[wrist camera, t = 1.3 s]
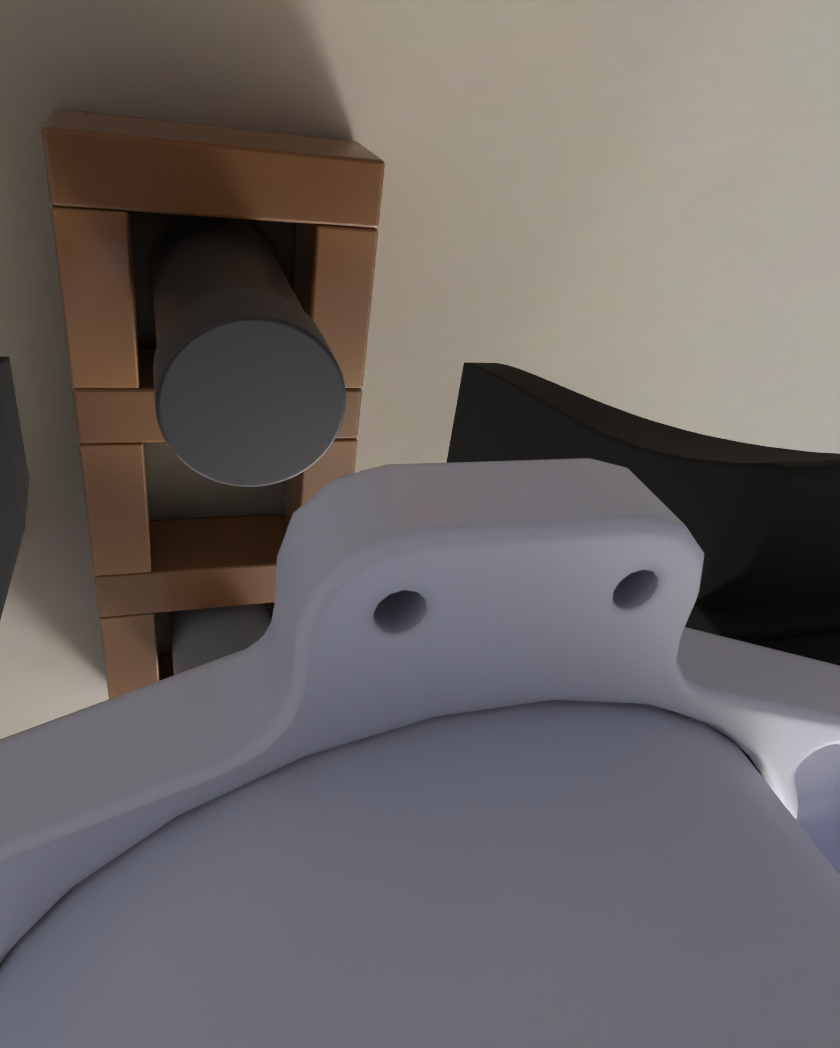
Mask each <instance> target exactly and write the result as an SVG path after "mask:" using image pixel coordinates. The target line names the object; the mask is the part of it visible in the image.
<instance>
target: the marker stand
mask: <svg viewBox="0 0 840 1048" xmlns="http://www.w3.org/2000/svg"><path fill="white" fill-rule="evenodd" d="M42 136H43V144H44V153H45V161H46V170H47V178H48V187H49V195H50V201H51V203H52V204H53V205H52V208H51V213H52V222H53V230H54V239H55V247H56V256H57V264H58V273H59V281H60V289H61V298H62V306H63V315H64V323H65V332H66V340H67V348H68V357H69V365H70V374H71V382H72V386H73V398H74V406H75V415H76V423H77V432H78V440H79V441H80V442H79V450H80V459H81V467H82V475H83V484H84V492H85V501H86V509H87V518H88V526H89V534H90V543H91V551H92V560H93V568H94V574H95V584H96V593H97V601H98V610H99V615H100V627H101V636H102V644H103V653H104V661H105V669H106V678H107V686H108V695H109V699H111V698H114V697H117V696H119V695H122V694H125V693H128V692H130V691H133V690H136V689H138V688H141V687H144V686H147V685H149V684H152V683H155V682H157V681H160V680H163V679H165V678H168V677H171V676H174V671H173V656H172V654H168V655H159V649H158V634H157V619H156V613H157V612H169V611H180V610H192V609H203V608H215V607H226V606H238V605H249V604H261V603H272V602H275V589H276V565H277V555H278V553H279V550H280V547H281V544H282V542H283V539H284V536H285V534H286V531H287V528H288V525H289V523H290V520H291V517H292V514H293V513H294V512H295V511H296V510H298V509H299V508H300V507H301V506H302V505H303V504H305V503H306V502H307V501H308V500H309V499H310V498H312V497H313V496H314V495H315V494H316V493H318V492H319V491H320V490H321V489H322V488H323V487H325V486H326V485H327V484H328V483H329V482H330V481H332V480H333V479H335V478H338V477H342V476H346V475H350V474H353V473H354V467H355V457H356V447H357V439H356V437H357V435H358V425H359V415H360V405H361V395H362V390H361V387H362V385H363V377H364V367H365V357H366V347H367V337H368V327H369V317H370V307H371V297H372V287H373V278H374V268H375V258H376V248H377V238H378V230H377V229H376V227H378V224H379V216H380V206H381V196H382V186H383V176H384V166H385V164H384V161H383V160H381V159H380V158H378V157H377V156H376V155H374V154H373V153H372V152H370V151H369V150H367V149H366V148H365V147H363V146H362V145H360V144H359V143H358V142H356V141H348V140H338V139H329V138H319V137H310V136H301V135H291V134H282V133H272V132H263V131H253V130H244V129H235V128H225V127H216V126H206V125H197V124H188V123H178V122H169V121H159V120H150V119H141V118H131V117H122V116H112V115H103V114H94V113H84V112H75V111H65V110H53V111H52V113H51V115H50V116H49V118H48V120H47V122H46V123H45V125H44V127H43V130H42ZM129 211H134V212H148V213H163V214H177V215H191V216H205V217H220V218H234V219H248V220H263V221H277V222H291V223H296V239H295V261H294V284H293V291H294V293H295V295H296V297H297V299H298V301H299V303H300V305H301V307H302V309H303V310H304V312H305V313H306V314H308V315H309V316H310V318H311V319H312V320H313V321H314V322H315V324H316V325H317V327H318V328H319V330H320V332H321V333H322V335H323V337H324V339H325V340H326V342H327V344H328V346H329V348H330V350H331V351H332V353H333V355H334V357H335V359H336V361H337V363H338V365H339V367H340V370H341V372H342V375H343V379H344V382H345V389H346V408H345V415H344V419H343V422H342V425H341V428H340V430H339V432H338V434H337V437H336V438H335V440H334V442H333V443H332V445H331V447H330V448H329V449H328V450H327V451H326V453H325V454H324V455H323V456H322V457H321V458H320V459H319V460H318V461H317V462H316V463H315V464H313V465H312V466H311V467H310V468H308V469H307V470H305V471H304V472H302V473H300V474H299V475H297V476H295V477H292V478H290V479H288V480H285V482H284V504H283V514H284V515H266V516H246V517H226V518H207V519H187V520H167V521H150V513H149V498H148V483H147V468H146V453H145V442H166V441H165V439H164V437H163V435H162V433H161V430H160V428H159V424H158V421H157V416H156V409H155V395H154V379H153V362H154V356H155V351H156V349H138V333H137V318H136V303H135V288H134V272H133V257H132V242H131V227H130V212H129Z"/></svg>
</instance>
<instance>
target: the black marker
mask: <svg viewBox="0 0 840 1048" xmlns="http://www.w3.org/2000/svg"><path fill="white" fill-rule="evenodd" d="M151 275H152V288H153V301H154V314H155V327H156V340H157V348H156V351H155V356H154V362H153V379H154V395H155V409H156V416H157V421H158V424H159V428H160V430H161V433H162V435H163V437H164V439H165V441H166V442H167V444H168V446H169V447H170V449H171V450H172V451H173V452H174V454H175V455H176V456H177V457H178V458H179V459H180V460H181V461H182V462H183V463H184V464H186V465H187V466H188V467H189V468H191V469H192V470H194V471H195V472H197V473H198V474H200V475H202V476H204V477H206V478H208V479H211V480H214V481H216V482H219V483H223V484H227V485H232V486H240V487H258V486H266V485H271V484H276V483H279V482H282V481H285V480H288V479H290V478H292V477H295V476H297V475H299V474H300V473H302V472H304V471H305V470H307V469H308V468H310V467H311V466H312V465H313V464H315V463H316V462H317V461H318V460H319V459H320V458H321V457H322V456H323V455H324V454H325V453H326V451H327V450H328V449H329V448H330V447H331V445H332V443H333V442H334V440H335V438H336V437H337V434H338V432H339V430H340V428H341V425H342V422H343V419H344V415H345V408H346V389H345V382H344V379H343V375H342V372H341V370H340V367H339V365H338V363H337V361H336V359H335V357H334V355H333V353H332V351H331V350H330V348H329V346H328V344H327V342H326V340H325V339H324V337H323V335H322V333H321V332H320V330H319V328H318V327H317V325H316V324H315V322H314V321H313V320H312V319H311V318H310V316H309V315H308V314H306V313H305V312H304V310H303V309H302V307H301V305H300V303H299V301H298V299H297V297H296V295H295V293H294V291H293V289H292V288H291V286H290V284H289V282H288V280H287V278H286V276H285V274H284V272H283V270H282V269H281V267H280V265H279V263H278V261H277V259H276V257H275V255H274V253H273V251H272V249H271V248H270V246H269V244H268V243H267V241H266V240H265V238H264V237H263V236H262V235H261V234H260V233H259V232H258V231H257V230H256V229H255V228H254V227H253V226H252V225H250V224H249V223H247V222H246V221H244V220H242V219H234V218H220V217H205V216H191V215H189V216H187V217H185V218H182V219H181V220H179V221H177V222H176V223H174V224H173V225H172V226H171V227H170V228H169V229H168V230H167V231H166V232H165V233H164V234H163V236H162V237H161V239H160V240H159V242H158V244H157V246H156V248H155V251H154V254H153V258H152V265H151Z"/></svg>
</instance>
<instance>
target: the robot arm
mask: <svg viewBox="0 0 840 1048" xmlns="http://www.w3.org/2000/svg"><path fill="white" fill-rule="evenodd" d="M28 483H29V475H28V469H27V463H26V457H25V451H24V445H23V439H22V433H21V427H20V420H19V414H18V408H17V402H16V396H15V390H14V384H13V378H12V372H11V365H10V359H9V357H0V619H1V615H2V612H3V608H4V604H5V600H6V597H7V593H8V589H9V586H10V582H11V578H12V575H13V571H14V567H15V563H16V559H17V556H18V552H19V548H20V544H21V540H22V536H23V532H24V528H25V518H26V508H27V496H28ZM0 1048H840V454H834V453H817V452H806V451H798V450H790V449H781V448H773V447H766V446H760V445H753V444H747V443H741V442H736V441H731V440H726V439H721V438H716V437H711V436H706V435H702V434H698V433H694V432H690V431H686V430H682V429H679V428H675V427H672V426H668V425H665V424H661V423H658V422H654V421H651V420H648V419H645V418H642V417H639V416H636V415H633V414H630V413H627V412H625V411H622V410H619V409H617V408H614V407H611V406H609V405H606V404H603V403H601V402H598V401H596V400H593V399H591V398H588V397H586V396H584V395H581V394H579V393H576V392H574V391H572V390H569V389H567V388H565V387H562V386H560V385H558V384H555V383H553V382H550V381H548V380H546V379H543V378H541V377H538V376H536V375H533V374H531V373H528V372H526V371H523V370H520V369H517V368H514V367H511V366H508V365H504V364H498V363H464V366H463V372H462V377H461V383H460V389H459V395H458V400H457V406H456V412H455V418H454V423H453V429H452V435H451V441H450V446H449V452H448V458H447V463H423V464H391V465H383V466H380V467H376V468H372V469H368V470H365V471H361V472H357V473H353V474H350V475H346V476H342V477H338V478H335V479H333V480H332V481H330V482H329V483H328V484H327V485H326V486H325V487H323V488H322V489H321V490H320V491H319V492H318V493H316V494H315V495H314V496H313V497H312V498H310V499H309V500H308V501H307V502H306V503H305V504H303V505H302V506H301V507H300V508H299V509H298V510H296V511H295V512H294V513H293V514H292V517H291V520H290V523H289V525H288V528H287V531H286V534H285V536H284V539H283V542H282V544H281V547H280V550H279V553H278V555H277V565H276V589H275V605H274V610H273V614H272V619H271V623H270V625H269V627H268V628H267V630H266V632H265V634H264V635H263V636H262V637H261V638H260V639H259V640H257V641H256V642H255V643H254V644H252V645H251V646H250V647H248V648H247V649H244V650H241V651H239V652H236V653H233V654H230V655H228V656H225V657H222V658H220V659H217V660H214V661H212V662H209V663H206V664H203V665H201V666H198V667H195V668H193V669H190V670H187V671H184V672H182V673H179V674H176V675H174V676H171V677H168V678H165V679H163V680H160V681H157V682H155V683H152V684H149V685H147V686H144V687H141V688H138V689H136V690H133V691H130V692H128V693H125V694H122V695H119V696H117V697H114V698H111V699H109V700H106V701H103V702H100V703H98V704H95V705H92V706H90V707H87V708H84V709H82V710H79V711H76V712H73V713H71V714H68V715H65V716H63V717H60V718H57V719H54V720H52V721H49V722H46V723H44V724H41V725H38V726H35V727H33V728H30V729H27V730H25V731H22V732H19V733H17V734H14V735H11V736H8V737H6V738H3V739H0Z"/></svg>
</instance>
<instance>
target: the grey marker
mask: <svg viewBox="0 0 840 1048" xmlns="http://www.w3.org/2000/svg"><path fill="white" fill-rule="evenodd" d="M271 619H272V618H271V614H270V610H269V605H268V603H261V604H249V605H238V606H226V607H215V608H203V609H192V610H180V611H170V625H171V640H172V656H173V671H174V675H176V674H179V673H182V672H184V671H187V670H190V669H193V668H195V667H198V666H201V665H203V664H206V663H209V662H212V661H214V660H217V659H220V658H222V657H225V656H228V655H230V654H233V653H236V652H239V651H241V650H244V649H247V648H248V647H250V646H251V645H252V644H254V643H255V642H256V641H257V640H259V639H260V638H261V637H262V636H263V635H264V634H265V632H266V630H267V628H268V627H269V625H270V623H271Z"/></svg>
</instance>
